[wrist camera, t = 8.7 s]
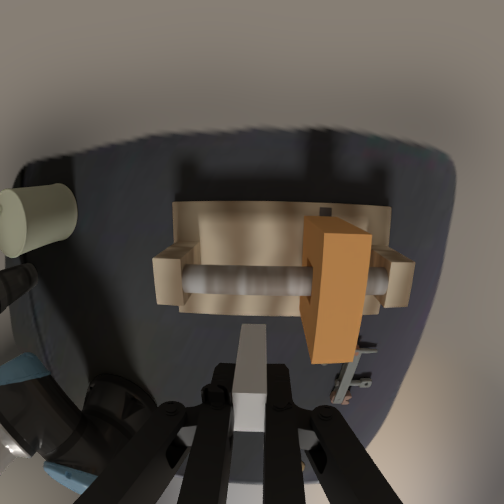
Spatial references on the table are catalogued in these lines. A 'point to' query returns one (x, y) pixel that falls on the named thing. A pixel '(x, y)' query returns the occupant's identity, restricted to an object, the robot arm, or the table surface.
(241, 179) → the table surface
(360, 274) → the orange slotted block
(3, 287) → the beverage cup
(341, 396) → the clamp
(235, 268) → the pipe rig
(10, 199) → the pale green cylinder
